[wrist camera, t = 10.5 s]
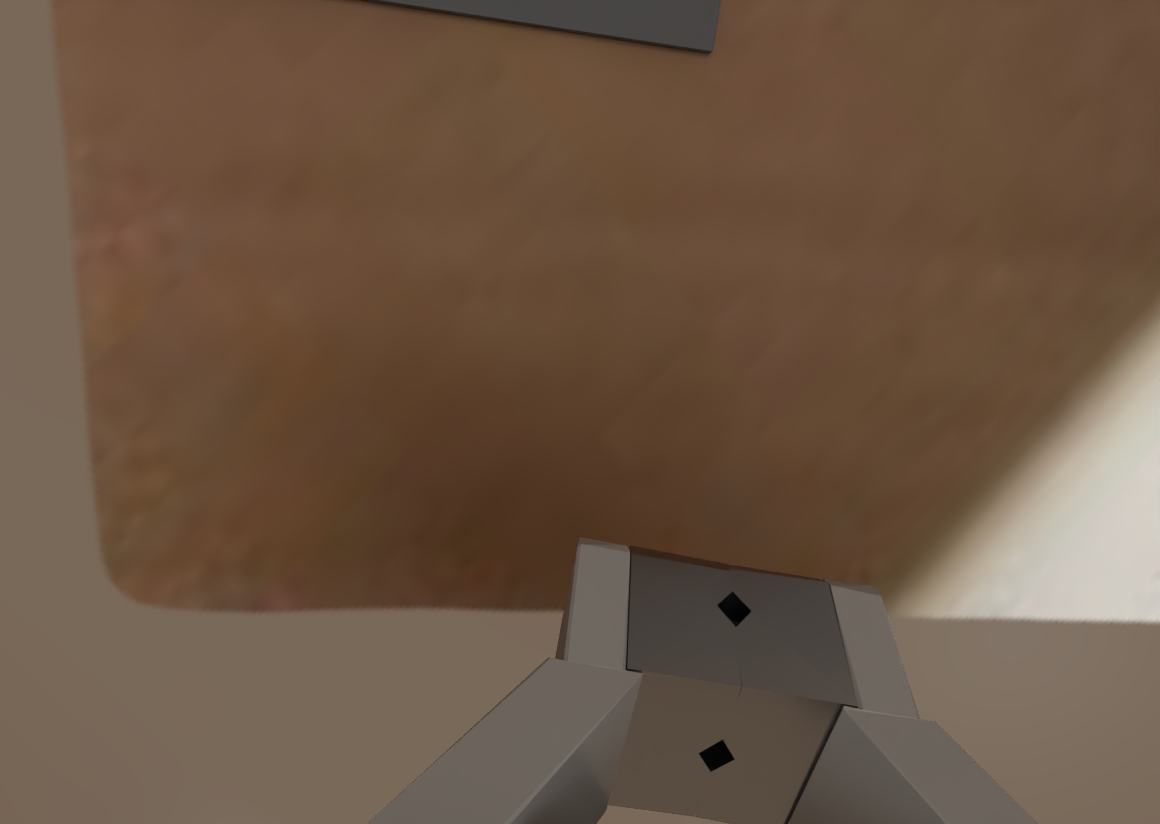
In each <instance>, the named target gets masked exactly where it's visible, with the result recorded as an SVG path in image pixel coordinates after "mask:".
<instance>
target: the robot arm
mask: <svg viewBox="0 0 1160 824" xmlns="http://www.w3.org/2000/svg"><path fill="white" fill-rule="evenodd" d="M607 805H613V806H621V807H628V808H635V809H643V810H650V811H658V812H665V813H672V814H680V815H687V816H695V817H699V818H705V819H710V820H715V821H721V822H725V823H731V824H1037V823H1036V822H1035V821H1034V820H1033V819H1032V818H1031V817H1030V816H1029V815H1028V814H1027V813H1026V812H1025V811H1024V810H1023V809H1022V808H1021V807H1020V806H1019V805H1018V804H1017V803H1016V802H1015V801H1014V800H1013V799H1012V798H1011V797H1010V796H1009V795H1008V794H1007V793H1006V792H1005V791H1004V790H1003V789H1002V788H1001V787H1000V786H999V785H998V784H997V783H996V782H995V781H994V780H993V779H992V778H991V777H990V776H989V775H988V774H987V773H986V772H985V771H984V770H983V769H982V768H981V767H980V766H979V765H978V764H977V763H976V762H975V761H974V760H973V759H972V758H971V757H970V756H969V755H968V754H967V753H966V752H965V751H964V750H963V749H962V748H961V747H960V746H959V745H958V744H957V743H956V742H955V741H954V740H953V739H952V738H951V737H950V736H949V735H948V734H947V733H946V732H945V731H944V730H943V729H942V728H941V727H940V726H939V725H938V724H937V723H936V722H933V721H928V720H922V719H920V718H919V715H918V712H917V708H916V705H915V702H914V699H913V696H912V692H911V689H910V686H909V683H908V680H907V677H906V673H905V670H904V667H903V664H902V661H901V658H900V655H899V651H898V648H897V645H896V642H895V639H894V635H893V632H892V629H891V626H890V623H889V620H888V616H887V613H886V610H885V607H884V604H883V601H882V597H881V594H880V593H879V592H878V591H877V589H876V588H875V587H874V586H871V585H864V584H857V583H850V582H843V581H837V580H830V579H823V580H820V579H816V578H810V577H803V576H797V575H791V574H785V573H778V572H772V571H766V570H760V569H754V568H747V567H741V566H735V565H729V564H724V563H719V562H714V561H708V560H703V559H698V558H693V557H687V556H682V555H677V554H672V553H666V552H661V551H656V550H651V549H645V548H640V547H635V546H630V547H629V548H628V546H626V545H620V544H615V543H610V542H604V541H599V540H593V539H588V538H583V537H580V538H579V541H578V544H577V548H576V553H575V558H574V563H573V568H572V573H571V578H570V583H569V588H568V593H567V598H566V603H565V608H564V613H563V618H562V624H561V629H560V635H559V641H558V646H557V652H556V657H555V659H552V658H548V659H546V660H545V661H544V662H543V663H542V664H541V665H540V666H539V667H538V668H537V669H536V670H535V671H533V672H532V673H531V674H530V675H529V676H528V677H527V678H526V679H525V680H524V681H522V682H521V683H520V684H519V685H518V686H517V687H516V688H515V689H514V690H513V691H511V692H510V693H509V694H508V695H507V696H506V697H505V698H504V699H503V700H502V701H501V702H499V704H497V705H496V706H495V707H494V708H493V709H492V710H491V711H490V712H489V713H487V714H486V715H485V716H484V717H483V718H482V719H481V720H480V721H479V722H478V723H477V724H475V725H474V726H473V727H472V728H471V729H470V730H469V731H468V732H467V733H466V734H465V735H464V736H463V737H461V738H460V739H459V740H458V741H457V742H456V743H455V744H454V745H453V746H452V747H450V748H449V749H448V750H447V751H446V752H445V753H444V754H443V755H442V756H441V757H439V758H438V759H437V760H436V761H435V762H434V763H433V764H432V765H431V766H430V767H429V768H427V769H426V770H425V771H424V772H423V773H422V774H421V775H420V776H419V777H418V778H417V779H415V780H414V781H413V782H412V783H411V784H410V785H409V786H408V787H407V788H406V789H405V790H403V791H402V792H401V793H400V794H399V795H398V796H397V797H396V798H395V799H394V800H393V801H391V802H390V803H389V804H388V805H387V806H386V807H385V808H384V809H383V810H382V811H381V812H379V813H378V814H377V815H376V816H375V817H374V818H373V819H372V820H371V821H370V822H369V824H597V822H598V821H599V819H600V818H601V817H602V815H603V814H604V813H605V811H606V809H607Z"/></svg>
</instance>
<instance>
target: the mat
mask: <svg viewBox="0 0 1160 824" xmlns="http://www.w3.org/2000/svg"><path fill="white" fill-rule="evenodd" d="M364 1H371V2H377V3H384V4H390V5H397V6H403V7H410V8H416V9H423V10H429V11H436V12H442V13H449V14H456V15H462V16H469V17H475V18H482V19H488V20H495V21H501V22H508V23H514V24H521V25H527V26H534V27H540V28H547V29H553V30H560V31H566V32H573V33H579V34H586V35H593V36H599V37H606V38H612V39H619V40H625V41H632V42H638V43H645V44H651V45H658V46H664V47H671V48H677V49H684V50H690V51H697V52H703V53H710V52H712V51H713V45H714V39H715V32H716V26H717V20H718V13H719V7H720V1H721V0H364Z"/></svg>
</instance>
